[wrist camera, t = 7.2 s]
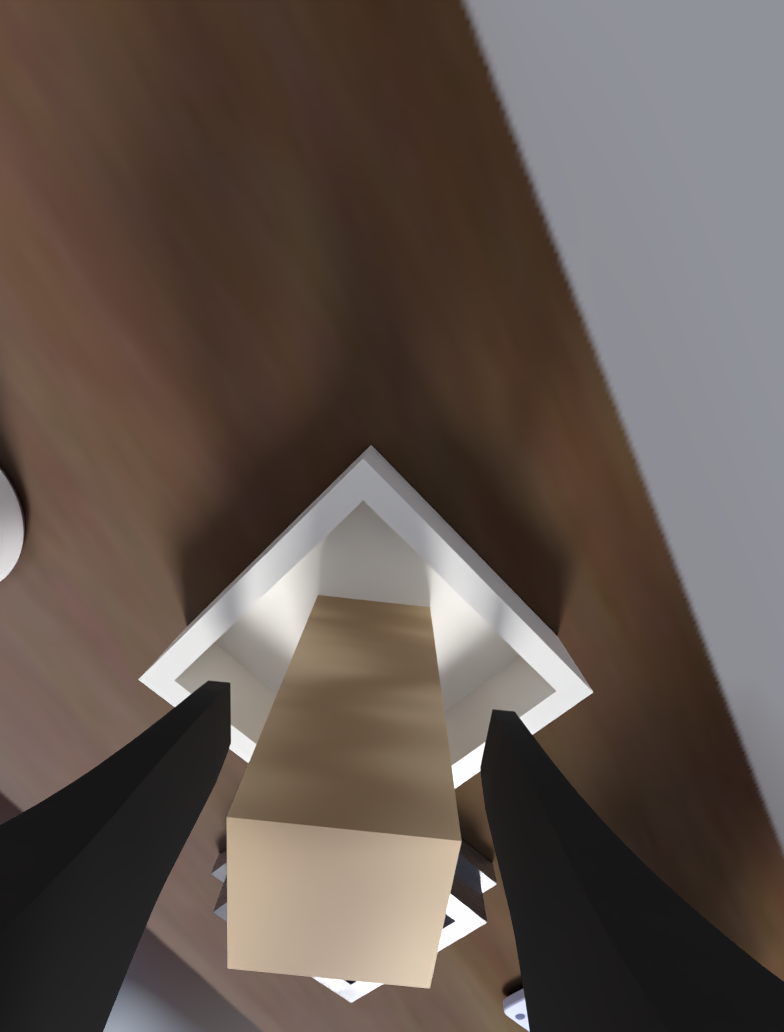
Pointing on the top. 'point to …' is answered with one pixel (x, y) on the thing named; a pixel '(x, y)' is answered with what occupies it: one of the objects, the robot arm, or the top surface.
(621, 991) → the robot arm
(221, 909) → the stud socket
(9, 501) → the can
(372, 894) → the peg
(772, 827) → the top surface
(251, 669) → the bin tray
